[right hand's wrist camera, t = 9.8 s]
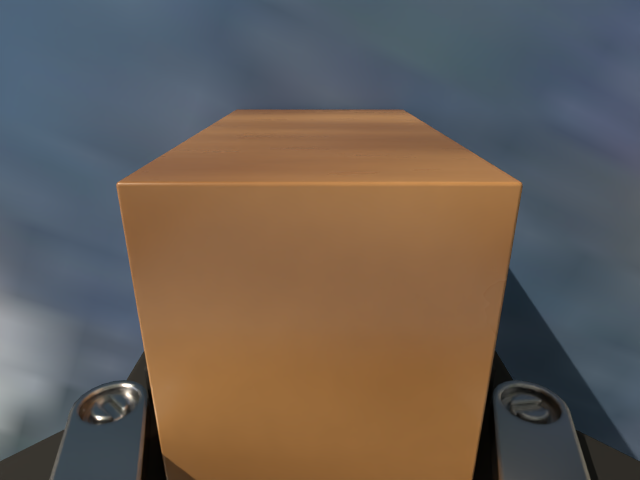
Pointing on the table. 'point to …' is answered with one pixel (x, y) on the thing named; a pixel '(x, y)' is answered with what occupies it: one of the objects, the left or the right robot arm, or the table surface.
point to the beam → (319, 296)
